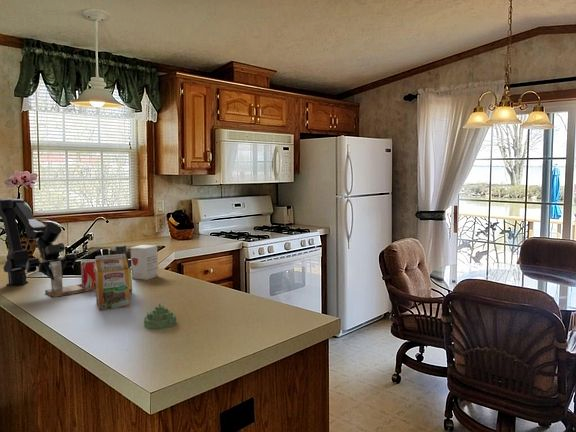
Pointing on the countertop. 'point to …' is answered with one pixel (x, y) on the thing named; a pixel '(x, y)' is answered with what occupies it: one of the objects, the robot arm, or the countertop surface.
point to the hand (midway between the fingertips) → (57, 278)
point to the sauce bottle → (122, 250)
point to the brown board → (57, 283)
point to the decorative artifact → (160, 318)
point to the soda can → (88, 273)
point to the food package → (112, 282)
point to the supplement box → (144, 262)
